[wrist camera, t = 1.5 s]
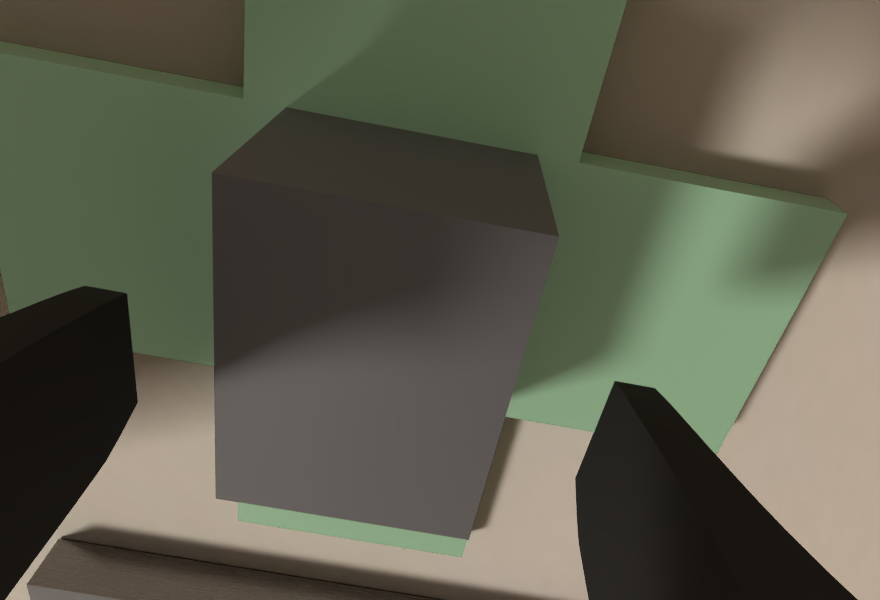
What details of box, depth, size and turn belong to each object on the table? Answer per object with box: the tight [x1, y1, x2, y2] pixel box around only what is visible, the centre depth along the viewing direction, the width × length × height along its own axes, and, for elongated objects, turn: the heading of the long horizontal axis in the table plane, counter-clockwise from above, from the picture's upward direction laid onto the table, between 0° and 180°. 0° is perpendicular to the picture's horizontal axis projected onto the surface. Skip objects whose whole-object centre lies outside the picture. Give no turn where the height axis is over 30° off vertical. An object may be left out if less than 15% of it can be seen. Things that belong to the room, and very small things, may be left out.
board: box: [0, 0, 848, 557], centre depth 11 cm, size 16×16×4 cm
